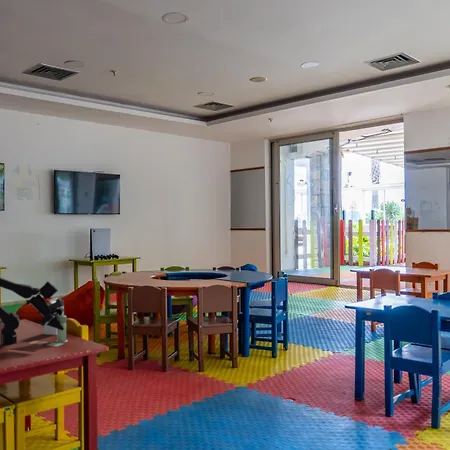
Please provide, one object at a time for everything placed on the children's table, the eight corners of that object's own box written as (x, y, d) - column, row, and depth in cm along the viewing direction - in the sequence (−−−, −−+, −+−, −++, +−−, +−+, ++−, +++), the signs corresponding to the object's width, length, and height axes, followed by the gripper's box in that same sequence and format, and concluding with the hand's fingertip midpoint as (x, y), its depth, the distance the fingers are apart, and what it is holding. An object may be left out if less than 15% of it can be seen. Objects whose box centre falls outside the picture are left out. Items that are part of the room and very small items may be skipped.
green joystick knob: (54, 341, 234) (55, 316, 234) (60, 339, 238) (61, 315, 238) (62, 342, 233) (62, 317, 233) (68, 340, 237) (68, 315, 237)
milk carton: (43, 336, 250) (43, 299, 250) (51, 333, 257) (51, 297, 257) (56, 337, 248) (56, 299, 248) (63, 334, 255) (64, 297, 255)
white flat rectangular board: (25, 346, 230) (25, 343, 230) (45, 339, 243) (45, 337, 243) (56, 349, 224) (56, 347, 224) (75, 342, 237) (75, 340, 237)
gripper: (46, 296, 226) (70, 320, 226) (60, 291, 245) (82, 313, 245) (29, 313, 226) (53, 337, 226) (44, 307, 245) (66, 329, 245)
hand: (64, 328), depth 236 cm, fingers closed on green joystick knob, 4 cm apart
